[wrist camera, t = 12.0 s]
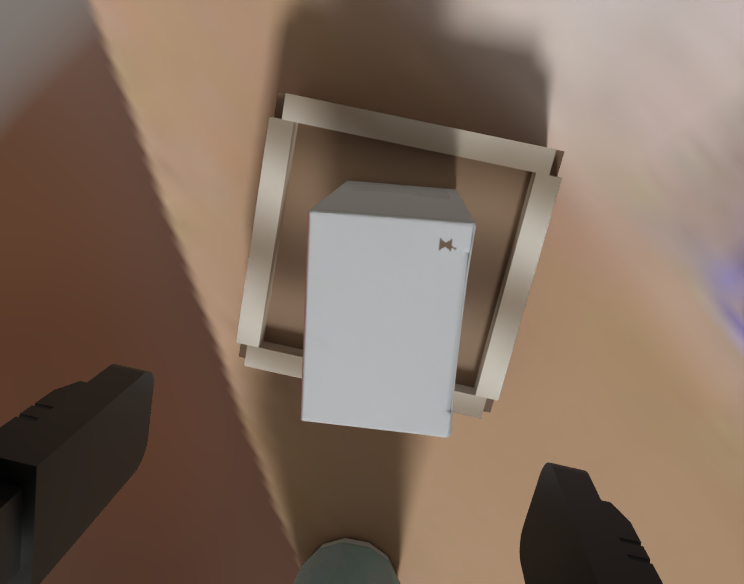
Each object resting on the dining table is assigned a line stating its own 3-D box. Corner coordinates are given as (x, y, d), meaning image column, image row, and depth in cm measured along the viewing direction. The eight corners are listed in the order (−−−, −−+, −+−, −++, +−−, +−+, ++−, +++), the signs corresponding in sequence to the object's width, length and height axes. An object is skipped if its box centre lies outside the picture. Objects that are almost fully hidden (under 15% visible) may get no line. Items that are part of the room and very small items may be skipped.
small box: (346, 178, 29) (305, 202, 19) (459, 188, 29) (479, 217, 19) (336, 331, 31) (295, 425, 21) (441, 341, 31) (451, 442, 21)
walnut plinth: (295, 97, 32) (273, 90, 27) (546, 149, 32) (569, 152, 27) (258, 332, 36) (233, 363, 31) (482, 382, 36) (492, 421, 31)
